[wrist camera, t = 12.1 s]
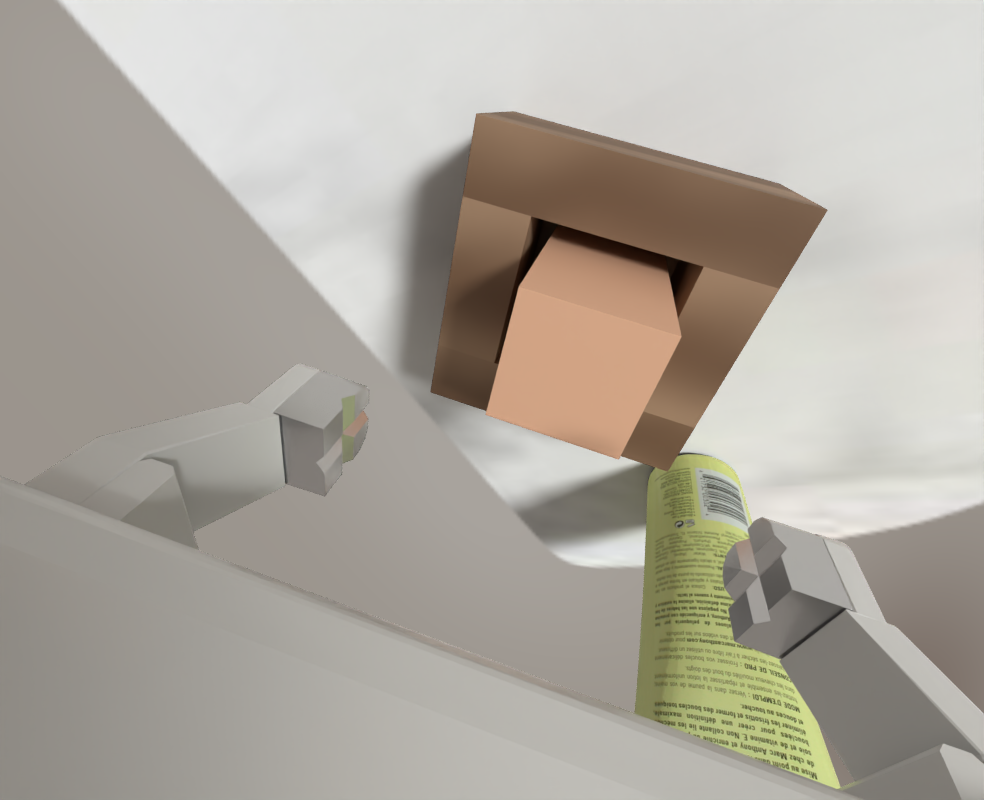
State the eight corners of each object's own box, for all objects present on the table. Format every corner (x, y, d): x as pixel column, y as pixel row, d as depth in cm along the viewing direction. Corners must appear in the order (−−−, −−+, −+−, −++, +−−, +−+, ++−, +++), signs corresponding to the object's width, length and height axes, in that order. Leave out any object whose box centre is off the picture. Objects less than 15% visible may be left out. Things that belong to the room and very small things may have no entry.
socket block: (513, 111, 19) (476, 113, 15) (779, 183, 18) (827, 209, 14) (466, 341, 25) (430, 392, 21) (661, 404, 24) (667, 471, 20)
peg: (561, 219, 20) (518, 286, 12) (663, 248, 19) (681, 336, 12) (534, 313, 22) (485, 414, 15) (623, 341, 22) (618, 459, 15)
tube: (677, 531, 29) (731, 1062, 13) (619, 483, 28) (601, 987, 12) (761, 489, 26) (971, 1123, 10) (699, 433, 25) (817, 1028, 9)
